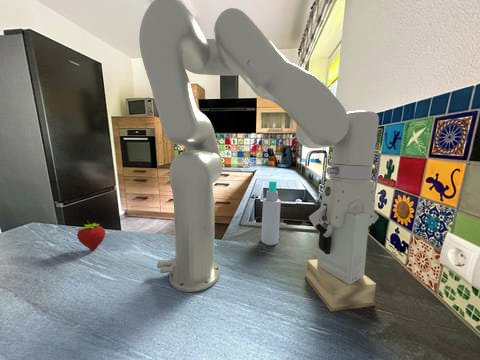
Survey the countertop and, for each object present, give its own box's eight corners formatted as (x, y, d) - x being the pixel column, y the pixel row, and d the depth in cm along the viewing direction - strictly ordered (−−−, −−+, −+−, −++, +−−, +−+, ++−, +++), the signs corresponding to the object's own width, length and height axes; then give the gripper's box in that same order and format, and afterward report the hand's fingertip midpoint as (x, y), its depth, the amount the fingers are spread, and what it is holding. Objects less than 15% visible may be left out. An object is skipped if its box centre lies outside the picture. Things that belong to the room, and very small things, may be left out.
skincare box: (364, 277, 41) (373, 212, 39) (348, 286, 38) (357, 216, 36) (329, 258, 48) (335, 202, 46) (313, 264, 45) (320, 205, 43)
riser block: (330, 311, 38) (333, 289, 37) (304, 277, 48) (306, 259, 47) (374, 305, 40) (377, 284, 39) (340, 274, 50) (342, 256, 49)
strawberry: (97, 256, 55) (93, 223, 53) (72, 254, 55) (69, 222, 54) (111, 246, 61) (109, 216, 59) (89, 244, 61) (86, 215, 60)
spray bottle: (259, 237, 70) (262, 179, 66) (275, 237, 70) (279, 180, 67) (262, 245, 64) (265, 182, 60) (280, 245, 64) (284, 182, 61)
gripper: (323, 175, 35) (314, 262, 37) (401, 176, 38) (388, 256, 40) (303, 170, 42) (297, 244, 45) (370, 171, 45) (360, 240, 48)
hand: (340, 249), depth 42 cm, fingers open, 7 cm apart
